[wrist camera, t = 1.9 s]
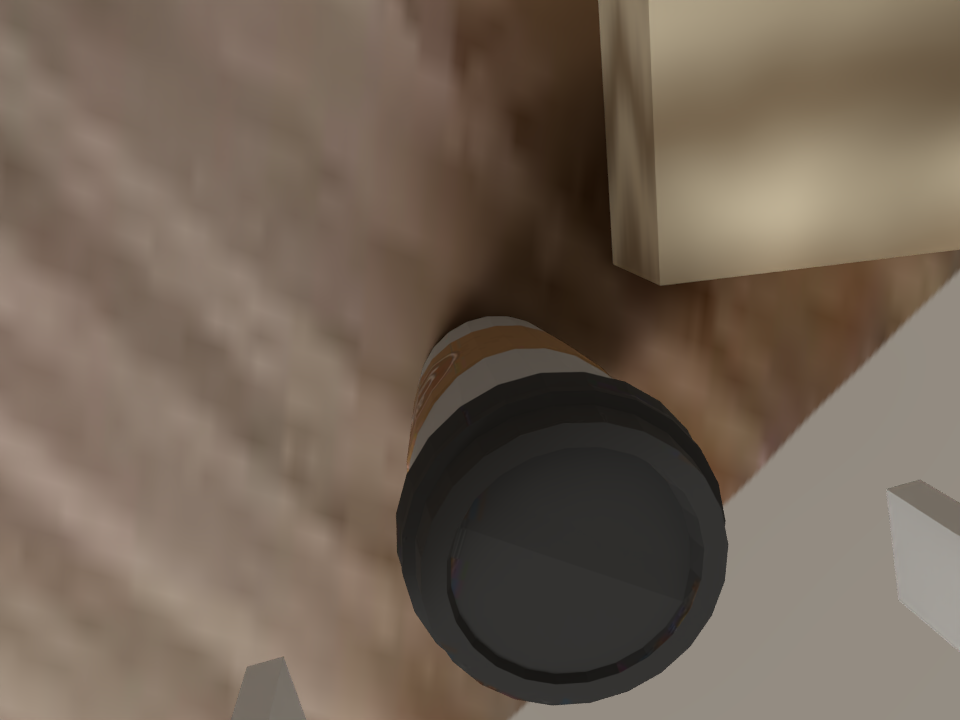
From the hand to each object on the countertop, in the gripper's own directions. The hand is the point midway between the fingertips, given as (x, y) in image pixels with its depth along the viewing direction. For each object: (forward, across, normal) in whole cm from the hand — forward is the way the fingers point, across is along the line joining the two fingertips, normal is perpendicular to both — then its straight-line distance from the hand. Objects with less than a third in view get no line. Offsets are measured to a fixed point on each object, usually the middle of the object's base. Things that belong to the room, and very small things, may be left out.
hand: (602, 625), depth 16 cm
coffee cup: (+17, 0, 0) cm, 17 cm away
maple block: (+17, +13, +9) cm, 23 cm away
